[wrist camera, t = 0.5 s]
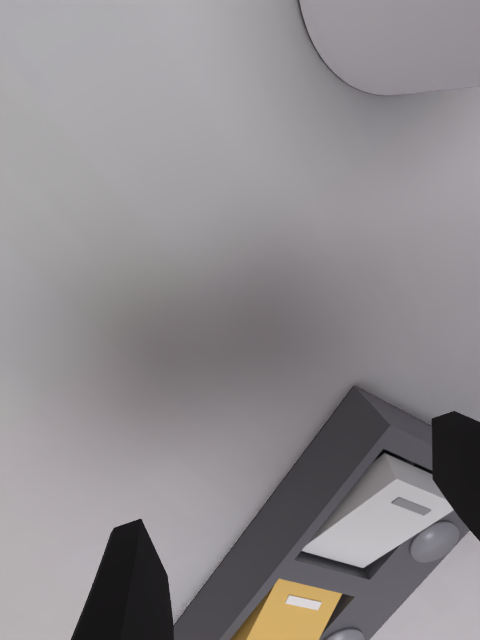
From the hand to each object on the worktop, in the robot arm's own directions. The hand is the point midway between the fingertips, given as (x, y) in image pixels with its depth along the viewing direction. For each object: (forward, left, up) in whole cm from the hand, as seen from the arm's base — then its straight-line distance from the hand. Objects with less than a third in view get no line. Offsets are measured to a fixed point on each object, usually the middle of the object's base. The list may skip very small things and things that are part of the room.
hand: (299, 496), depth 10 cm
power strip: (-13, +15, -10) cm, 23 cm away
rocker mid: (-12, +14, -7) cm, 19 cm away
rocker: (-12, +5, -7) cm, 14 cm away
